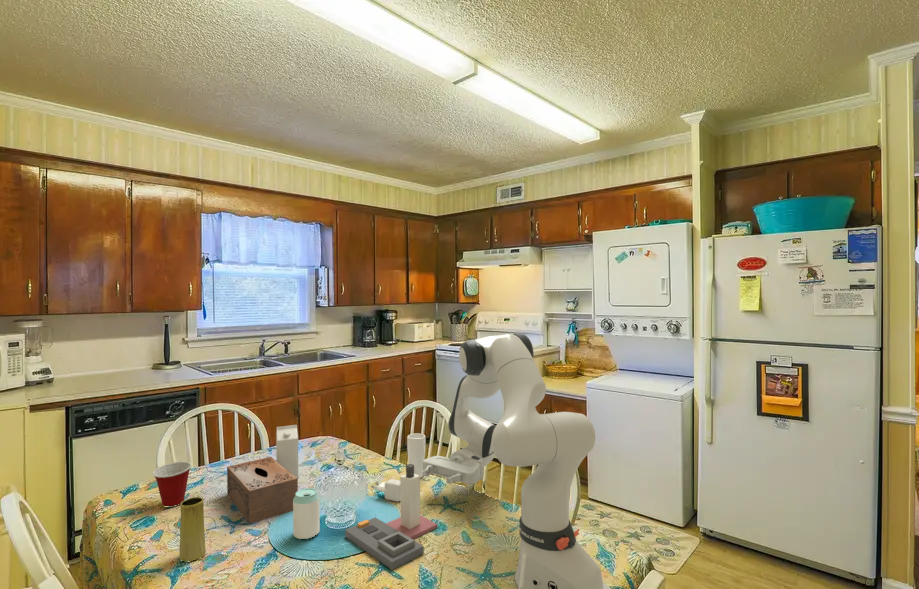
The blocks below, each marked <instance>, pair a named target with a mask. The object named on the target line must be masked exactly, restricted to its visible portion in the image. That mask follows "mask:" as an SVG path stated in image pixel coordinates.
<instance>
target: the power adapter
mask: <svg viewBox="0 0 919 589" xmlns="http://www.w3.org/2000/svg"><path fill="white" fill-rule="evenodd" d="M370 487H371V489H376V491H377V492H381V493H382V492H383V493H384V499H385V500H387V501H391V502H397V503H398V502H401V495H400V480H399V479H394V478H389V479H388V480H386V481H382V482H381V483H380V482H375V485H371V486H370Z"/></svg>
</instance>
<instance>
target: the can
mask: <svg viewBox="0 0 919 589" xmlns="http://www.w3.org/2000/svg"><path fill="white" fill-rule="evenodd" d="M292 512H293V513H292V517H293V519H292V522H293V523H292V525H293V527H292V528H293V529H292V530H293V533H292V534H293V537H294V538H296V539H298V540H301V539H306V540H310V539H312V537H313V538H315V535H316V536H317V535H318V534H319V533H320V531H321V530H320V519H321V518H320V495H319V493H318V490H317V489H316V488H312V487H307V488H302V489H299V490H298V491H297V492H296V494H295V497H294V499H293V511H292ZM309 538H310V539H309Z"/></svg>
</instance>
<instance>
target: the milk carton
mask: <svg viewBox="0 0 919 589" xmlns="http://www.w3.org/2000/svg"><path fill="white" fill-rule="evenodd" d="M275 433H276V434H275V438H276V440H275V441H276V442H275V448H276V451H275V452H276V453H275V457H276V459H275V460H276V461H277V462H278V463H279V464H281V465H282V466H283V467H284V468H285V469H287V470H288V471H289V472H290V473H292V474H293V475H294V476H295V477H297V478H298V479H299V433H298V425H297V424H293V425H292V424H291V425H285V426H276V432H275Z"/></svg>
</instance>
